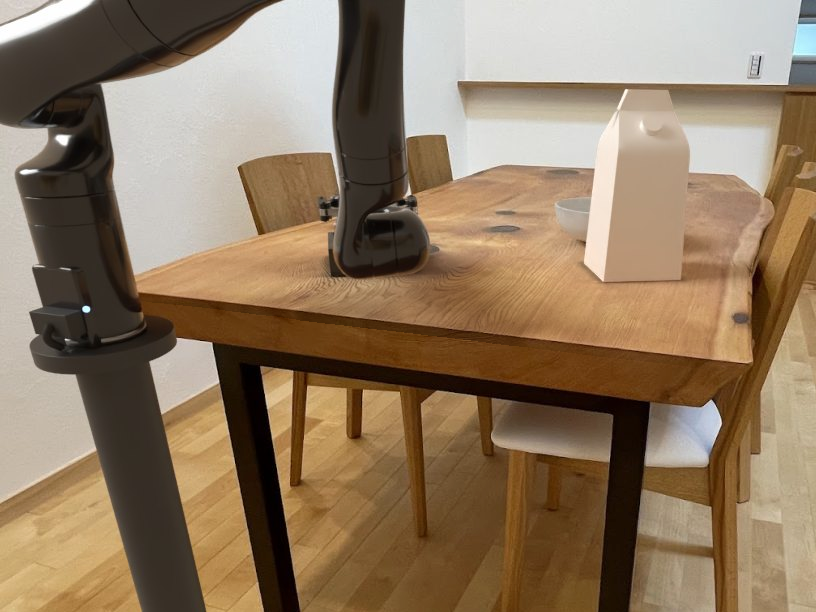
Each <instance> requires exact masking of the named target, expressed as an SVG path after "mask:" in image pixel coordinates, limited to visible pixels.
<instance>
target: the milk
mask: <svg viewBox="0 0 816 612" xmlns="http://www.w3.org/2000/svg"><path fill="white" fill-rule="evenodd" d="M670 94H671V93H670V91H669V89H638V88H637V89H636V88H635V89H634V88H633V89H630V88H628V89H627V88H626V89H624V91H623V94H622V96H621V99H620V101H619V103H618V106H617V107H616V110H615V111H614V113H613V114H612V117H611V118H610V120H609V122H608V123H607V125H606V127H605V129H604V130H603V133H602V134H601V136H600V138H599V141H598V143H597V148H596V155H595V164H594V171H593V182H592V189H591V190H592V191H591V196H590V197H591V206H590V215H589V223H588V232H587V240H586V242H585V250H584V256H583V257H584V259H583V264H584V265H585V266H586V268H588V270H590V271H591V272H592V273H593V274H594V275H595V276H597V278H598V279H600V280H601V281H602V282H603V283H617V282H620V283H621V282H622V283H623V282H625V283H626V282H654V281H656V282H657V281H658V282H659V281H661V282H662V281H681V280H682V270H683V258H684V257H683V255H684V243H685V229H686V215H687V203H688V202H687V201H688V189H689V175H690V163H691V150H690V149H691V148H690V144H689V141H688V138H687V136H686V133H685V131H684V129H683V127H682V125H681V121H680V120H679V118H678V115H677V113H676V112H675V108H674V104H673V100H672V98H671V95H670Z"/></svg>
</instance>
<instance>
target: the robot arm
mask: <svg viewBox="0 0 816 612" xmlns="http://www.w3.org/2000/svg"><path fill="white" fill-rule="evenodd" d="M283 1H285V0H47V1H45V2H44V3H43V4H41V5H40V6H38V7H36V8H34V9H31V10H30V11H28V12H26V13H23V14H21V15H19V16H17V17H14V18H12V19H9V20H7V21H5V22H2V23H0V125H1V126H6V127H10V128H13V129H20V130H21V129H22V130H37V129H47V142H46V144H45V145H44V147H43V149H42V150H41V151H40V152H39V153H37V154H36V155H35V156H34V157H32V158H31V159H28V160H27V161H25V162H23V163H21V164H20V165H18V166H17V167H16V168H15V170H14V181H15V184H16V187H17V191H18V194H19V198H20V201H21V205H22V208H23V211H24V215H25V220H26V222H27V226H28V230H29V234H30V236H31V240H32V244H33V248H34V251H35V254H36V258H37V261H38V263H36V264H33V265H32V266H31V271H32V274H33V278H34V281H35V285H36V289H37V292H38V295H39V300H40V303H41V305H42V307H39V308H36V309H33V310H30V311H28V313H29V314H28V315H29V317H30V320H31V324H32V326H33V331H34V334H35V335H42V338H43V341H44V342H45V344H47V345H48V346H49V347H51V348H54V349H57V350H59V351H62V350H63V349H64V348H65V346H72V347H79V348H87V349H97V348H99V347H102V346H106V345H112V344H117V343H121V342H125V341H128V340H131V339H134V338H136V337H138V336H140V335H142V334H143V333H145V332H146V330H147V325H146V321H145V320H144V316H143V315H144V313H143V312H142V310H143V308H142V303H141V298H140V294H139V290H138V286H137V282H136V276H135V273H134V268H133V264H132V260H131V255H130V254H131V253H130V250H129V246H128V242H127V237H126V232H125V229H124V224H123V220H122V219H123V218H122V215H121V210H120V206H119V202H118V197H117V193H116V192H117V191H116V189H115V183H114V177H113V176H114V170H115V169H114V168H115V154H114V153H115V152H114V147H113V141H112V136H111V130H110V124H109V123H110V122H109V118H108V116H109V115H108V110H107V104H106V99H105V94H104V88H103V85H102V84H108V83H115V82H121V81H125V80H131V79H135V78H140V77H141V78H142V77H145V76H150V75H154V74H158V73H163V72H166V71H168V70H170V69H173V68H176V67H179V66H181V65H183V64H185V63H186V62H188V61H190V60H192V59H195V58H197V57H199V56H201V55H203V54H205V53H207V52H209V50H211V49H213V48H215V47H216V46H218V45H219V44H221V43H223V42H224V41H225V40H227V39H228V38H230V37H231V36H232V35H233V34H234V33H236V32H237V31H238V30H239V29H240V28H242V26H243V25H244V24H245V23H246V22H247V21H248V20H250V19H251V18H252V17H254V16H255V15H256V14H258V13H259V12H261V11H262V10H264V9H266V8H269V7H271V6H273V5H275V4H278V3H281V2H283ZM337 7H338V38H337V53H336V62H335V69H334V70H335V72H334V79H333V87H332V99H331V129H332V137H333V138H332V139H333V143H334V144H333V145H334V154H335V160H336V166H337V172H338V183H339V193H334V195H331V196H329V199H327V197H324V196H319V197H317V198H316V201H317V206H318V207H317V208H318V217H319V221H320V222H324V223H327V222H330V220H333V216H336V217H337V220H336V219H335V220H336V221H335V222H336V226H335V225H334V231H333V232H334V238H333V254H334V259H335V262H336V264H337V266H338V268H339V269H340V270H341V271H342V273H343V274H345V275H346V276H345V277H347V278H349V279H351V280H359V281H361V280H371V279H380V278H389V277H396V276H409V275H412V274H415V273H418V272H419V271H420V270H422V269H423V268H424V267H425V265H426V264H427V262H428V260H429V257H430V254H431V240H430V235H429V232H428V228H427V227H426V225H425V223H424V221H423V220H422V218H421V217H420V216H419V209H418V208H419V206H418V199H417V196H416V195H414V194H409V195H407V194H408V191H409V185H410V178H409V176H410V175H409V165H408V164H409V163H408V162H409V161H408V147H407V130H406V121H405V120H406V115H405V96H404V95H405V93H404V91H405V90H404V46H405V45H404V43H405V42H404V39H405V17H406V16H405V15H406V0H337ZM406 195H407V196H406ZM405 197H406V198H405Z"/></svg>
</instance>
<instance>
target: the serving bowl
mask: <svg viewBox="0 0 816 612" xmlns="http://www.w3.org/2000/svg"><path fill="white" fill-rule="evenodd" d="M591 197H592V196H584V197H583V196H580V197H570V198H564V199H559V200H557V201H556V202H555V203H554V213H555V217H556V221H557V223H558V225H559V227H560V228H561V229H562V231H564V233H566V234H567V236H570V237H572V238H574V239H576V240H578V241H582V242H584V243H586V240H587V232H588V223H589V215H590V206H591Z"/></svg>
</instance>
